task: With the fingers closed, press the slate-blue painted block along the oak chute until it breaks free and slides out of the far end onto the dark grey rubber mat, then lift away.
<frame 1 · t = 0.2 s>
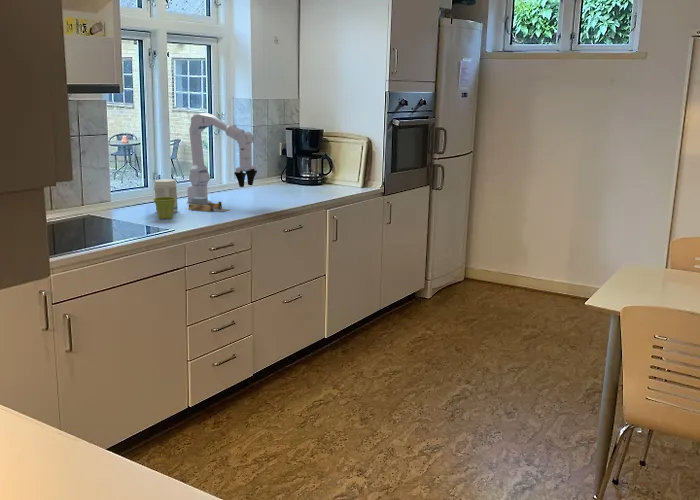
hand: (246, 186, 333), 10 cm above the countertop, tool pointing down, fingers open, 7 cm apart
chute: (205, 209, 326), on the countertop
supplement tub: (166, 212, 318), on the countertop
plant pot: (165, 218, 303), on the countertop
block: (199, 203, 327), point 3 cm above the countertop, slide at 0.0 cm
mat: (221, 210, 323), on the countertop
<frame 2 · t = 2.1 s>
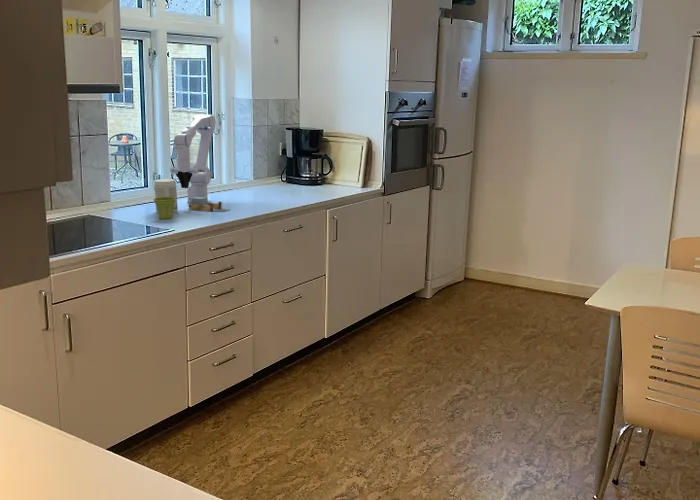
hand: (184, 188, 328), 9 cm above the countertop, tool pointing down, fingers closed
nothing on the countertop moved.
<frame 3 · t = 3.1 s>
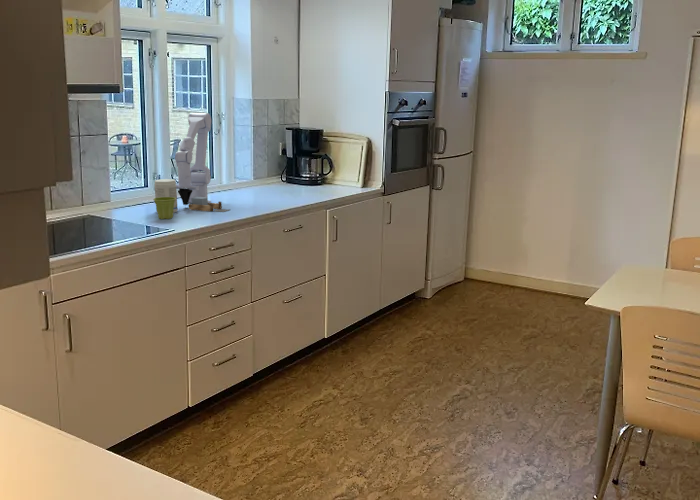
hand: (185, 204, 330), 1 cm above the countertop, tool pointing down, fingers closed
nothing on the countertop moved.
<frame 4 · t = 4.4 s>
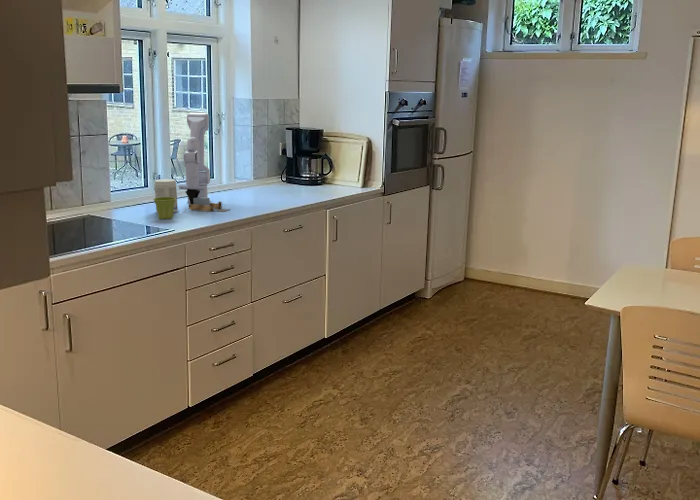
hand: (193, 205, 328), 1 cm above the countertop, tool pointing down, fingers closed
block: (201, 203, 326), point 3 cm above the countertop, slide at 1.1 cm, touching gripper
everything else where it was.
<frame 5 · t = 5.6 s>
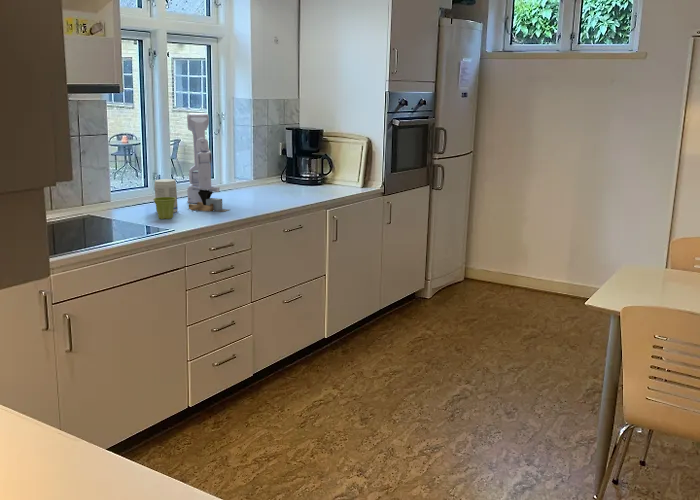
hand: (205, 206, 326), 1 cm above the countertop, tool pointing down, fingers closed
block: (214, 204, 324), point 3 cm above the countertop, slide at 8.1 cm, touching gripper
everything else where it was.
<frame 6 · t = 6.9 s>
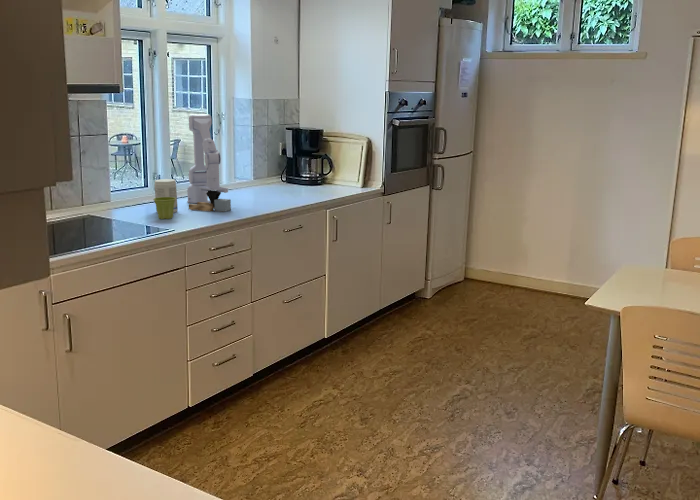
hand: (214, 207, 324), 1 cm above the countertop, tool pointing down, fingers closed
block: (222, 205, 322), point 3 cm above the countertop, slide at 12.7 cm, touching gripper
everything else where it was.
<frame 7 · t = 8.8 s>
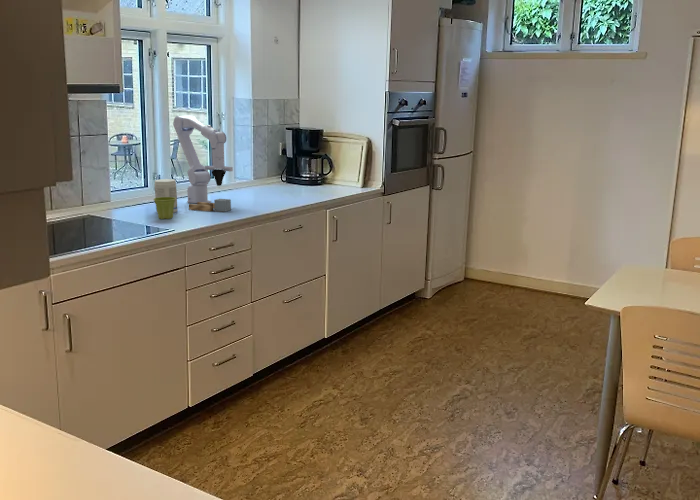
hand: (219, 185, 334), 10 cm above the countertop, tool pointing down, fingers closed
block: (222, 205, 322), point 3 cm above the countertop, slide at 12.7 cm
everything else where it was.
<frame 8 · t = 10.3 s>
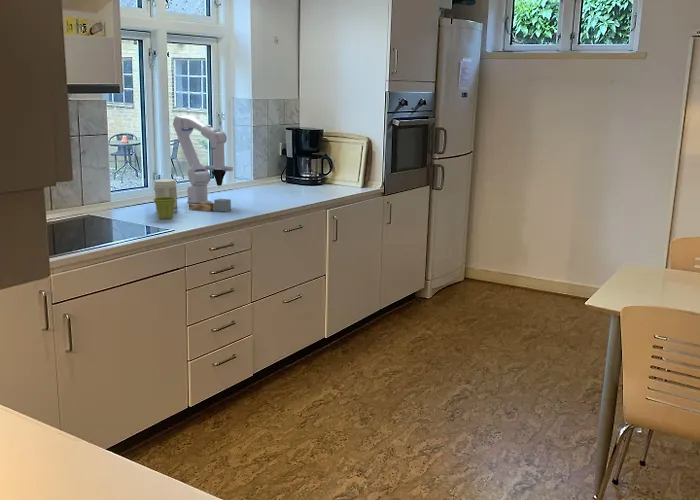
hand: (219, 185, 335), 10 cm above the countertop, tool pointing down, fingers closed
nothing on the countertop moved.
at the end: block slide at 12.7 cm; block inside the target area (0.2 cm from its centre), resting on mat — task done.
